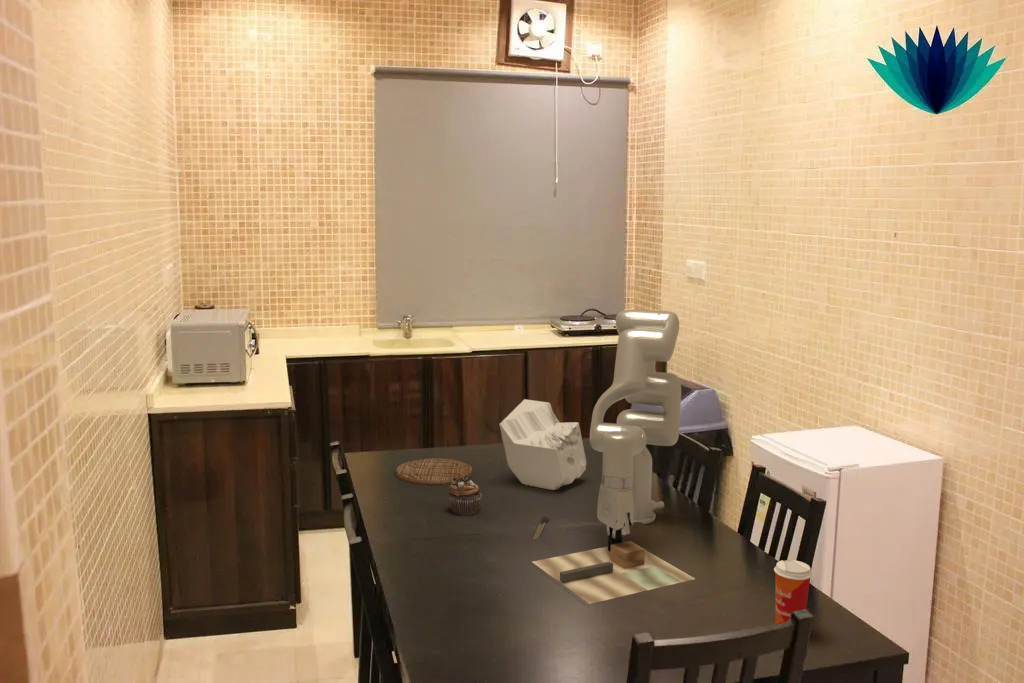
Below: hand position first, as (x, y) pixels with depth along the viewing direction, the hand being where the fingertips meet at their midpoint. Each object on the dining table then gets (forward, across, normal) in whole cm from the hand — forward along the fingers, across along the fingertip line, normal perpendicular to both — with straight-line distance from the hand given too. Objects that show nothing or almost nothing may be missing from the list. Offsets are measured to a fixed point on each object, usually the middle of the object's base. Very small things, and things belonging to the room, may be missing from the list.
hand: (614, 550), depth 222 cm
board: (+2, +8, -6) cm, 10 cm away
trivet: (+3, -86, -14) cm, 87 cm away
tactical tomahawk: (+3, -24, -7) cm, 25 cm away
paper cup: (+3, +47, +13) cm, 49 cm away
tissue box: (+2, -60, +14) cm, 61 cm away
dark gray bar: (+1, +8, -13) cm, 16 cm away
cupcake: (+2, -48, -19) cm, 52 cm away
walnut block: (+1, +5, 0) cm, 5 cm away
